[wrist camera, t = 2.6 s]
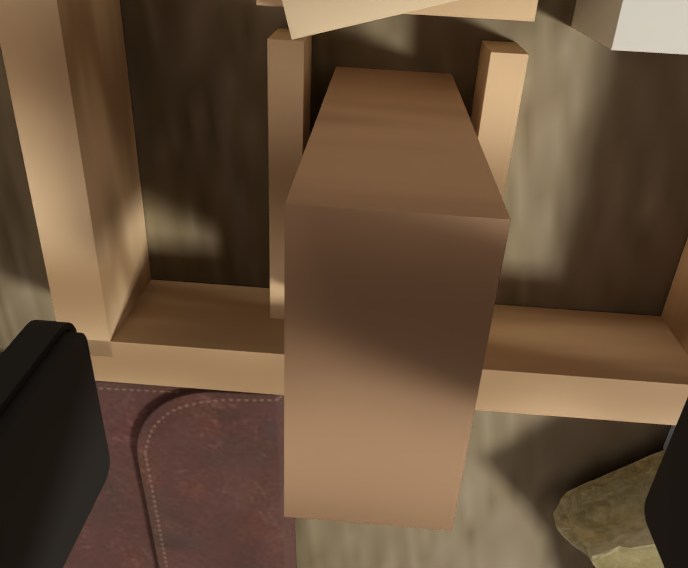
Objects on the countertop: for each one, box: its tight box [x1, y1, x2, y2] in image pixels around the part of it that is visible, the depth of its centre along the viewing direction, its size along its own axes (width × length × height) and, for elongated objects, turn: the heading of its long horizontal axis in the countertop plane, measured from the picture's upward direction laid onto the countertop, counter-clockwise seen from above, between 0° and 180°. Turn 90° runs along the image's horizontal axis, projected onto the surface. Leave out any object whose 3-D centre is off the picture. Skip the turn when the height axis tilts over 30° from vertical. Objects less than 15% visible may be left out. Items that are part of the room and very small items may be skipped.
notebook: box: [63, 381, 297, 568], centre depth 30 cm, size 15×20×2 cm
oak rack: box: [0, 0, 688, 425], centre depth 18 cm, size 19×22×4 cm
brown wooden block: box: [284, 67, 511, 531], centre depth 17 cm, size 7×4×11 cm, turn 177°
